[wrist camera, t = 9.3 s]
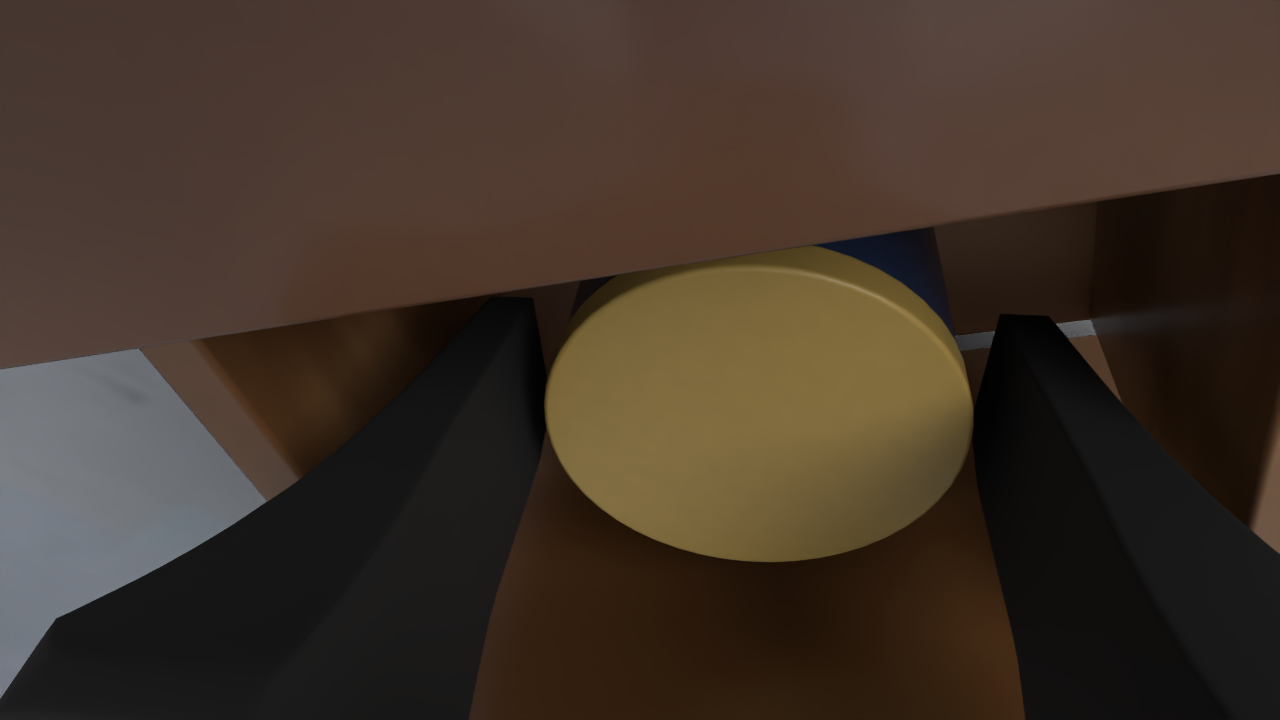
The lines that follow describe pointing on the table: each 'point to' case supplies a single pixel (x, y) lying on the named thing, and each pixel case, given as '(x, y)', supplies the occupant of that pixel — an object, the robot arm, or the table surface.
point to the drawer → (838, 584)
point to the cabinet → (563, 141)
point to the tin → (766, 397)
